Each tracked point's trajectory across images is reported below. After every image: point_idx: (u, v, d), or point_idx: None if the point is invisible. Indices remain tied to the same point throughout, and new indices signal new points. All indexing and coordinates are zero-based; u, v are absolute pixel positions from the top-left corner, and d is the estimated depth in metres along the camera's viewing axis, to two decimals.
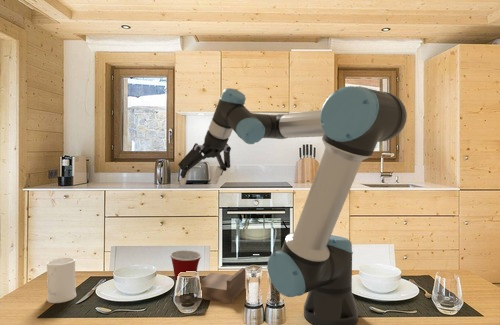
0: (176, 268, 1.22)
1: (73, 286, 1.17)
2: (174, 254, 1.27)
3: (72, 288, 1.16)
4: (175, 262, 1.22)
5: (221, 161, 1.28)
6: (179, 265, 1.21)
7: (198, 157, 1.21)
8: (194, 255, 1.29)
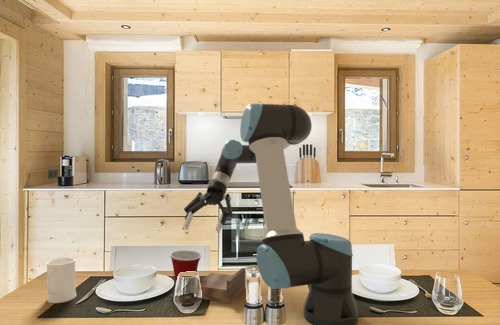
0: (176, 268, 1.22)
1: (73, 286, 1.17)
2: (174, 254, 1.27)
3: (72, 288, 1.16)
4: (175, 262, 1.22)
5: (220, 205, 1.40)
6: (179, 265, 1.21)
7: None
8: (194, 255, 1.29)
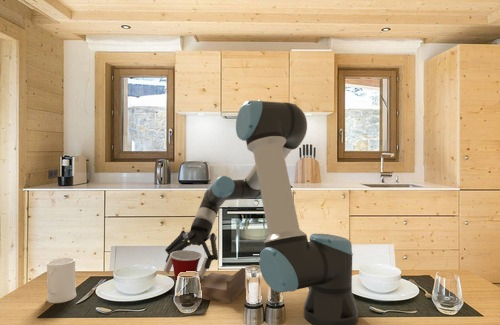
0: (176, 268, 1.22)
1: (73, 286, 1.17)
2: (174, 254, 1.27)
3: (72, 288, 1.16)
4: (175, 262, 1.22)
5: (205, 247, 1.28)
6: (179, 265, 1.21)
7: None
8: (194, 255, 1.29)
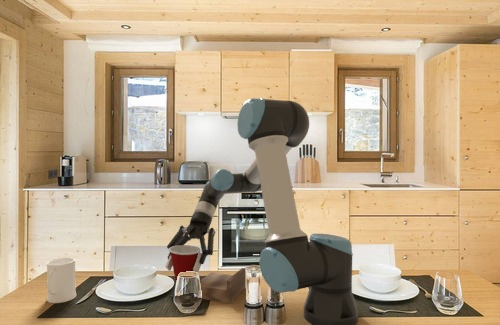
0: (175, 263, 1.22)
1: (73, 286, 1.17)
2: (173, 249, 1.27)
3: (72, 288, 1.16)
4: (174, 256, 1.21)
5: (201, 241, 1.27)
6: (178, 259, 1.21)
7: None
8: (193, 250, 1.29)
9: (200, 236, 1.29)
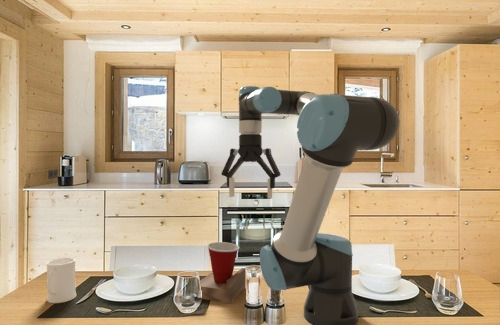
0: (214, 260, 1.18)
1: (73, 286, 1.17)
2: (210, 246, 1.23)
3: (72, 288, 1.16)
4: (213, 254, 1.17)
5: (263, 166, 1.19)
6: (217, 257, 1.17)
7: None
8: (231, 247, 1.25)
9: (259, 161, 1.19)
